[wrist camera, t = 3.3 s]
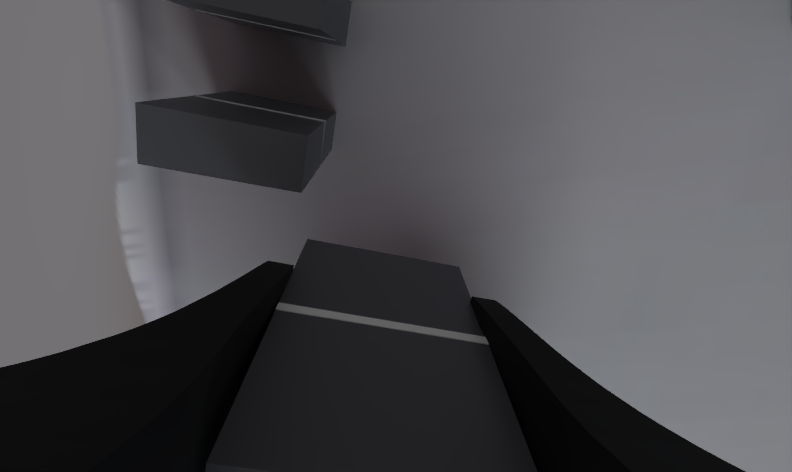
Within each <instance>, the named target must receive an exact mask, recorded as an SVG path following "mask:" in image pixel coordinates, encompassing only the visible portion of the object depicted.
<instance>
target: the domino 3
mask: <svg viewBox="0 0 792 472" xmlns="http://www.w3.org/2000/svg"><path fill="white" fill-rule="evenodd" d="M470 301H471V297H470V295H469V292H468V290H467V287H466V284H465V282H464V279H463V276H462V274H461V271H460V269H459V267H456V266H451V265H445V264H440V263H434V262H429V261H424V260H418V259H413V258H407V257H402V256H397V255H391V254H386V253H380V252H375V251H369V250H364V249H359V248H353V247H348V246H342V245H337V244H332V243H326V242H321V241H315V240H310V239H307V241H306V243H305V246H304V248H303V250H302V252H301V255H300V257H299V259H298V261H297V263H296V266H295V268H294V270H293V272H292V274H291V277H290V279H289V281H288V283H287V285H286V288H285V290H284V292H283V294H282V297H281V299H280V301H279V303H278V305H277V307H276V310H275V312H274V314H273V316H272V319H271V321H270V323H269V325H268V328H267V330H266V332H265V334H264V336H263V339H262V341H261V343H260V345H259V347H258V350H257V352H256V354H255V356H254V358H253V361H252V363H251V365H250V367H249V370H248V372H247V374H246V376H245V378H244V381H243V383H242V385H241V387H240V389H239V392H238V394H237V396H236V398H235V401H234V403H233V405H232V407H231V409H230V412H229V414H228V416H227V418H226V420H225V423H224V425H223V427H222V429H221V431H220V434H219V436H218V438H217V440H216V443H215V445H214V447H213V449H212V451H211V454H210V456H209V458H208V460H207V462H206V472H537V469H536V467H535V464H534V462H533V459H532V456H531V454H530V451H529V449H528V446H527V443H526V441H525V438H524V435H523V433H522V430H521V428H520V425H519V422H518V420H517V417H516V415H515V412H514V409H513V407H512V404H511V402H510V399H509V396H508V394H507V391H506V389H505V386H504V383H503V381H502V378H501V376H500V373H499V370H498V368H497V365H496V362H495V360H494V357H493V355H492V352H491V349H490V347H489V343H488V341H487V339H486V337H485V336H484V334H483V332H482V330H481V329H480V327H479V324H478V322H477V319H476V316H475V314H474V311H473V308H472V306H471V303H470Z"/></svg>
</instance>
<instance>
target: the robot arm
mask: <svg viewBox="0 0 792 472" xmlns="http://www.w3.org/2000/svg"><path fill="white" fill-rule="evenodd" d="M293 267H294V265H289V264H283V263H277V262H272V261H267V262H265V263H263V264H262V265H260V266H258V267H257V268H255V269H253V270H252V271H250V272H248V273H247V274H245V275H243V276H242V277H240V278H238V279H236V280H235V281H233V282H231V283H229V284H228V285H226V286H224V287H222V288H221V289H219V290H217V291H215V292H213V293H211V294H209V295H207V296H205V297H203V298H201V299H199V300H197V301H195V302H193V303H191V304H189V305H187V306H185V307H183V308H181V309H179V310H177V311H175V312H173V313H171V314H168V315H166V316H164V317H161V318H159V319H157V320H154V321H152V322H149V323H147V324H144V325H141V326H139V327H136V328H134V329H131V330H129V331H126V332H123V333H120V334H117V335H114V336H111V337H108V338H105V339H101V340H98V341H95V342H92V343H89V344H85V345H82V346H79V347H76V348H73V349H70V350H66V351H63V352H60V353H56V354H53V355H49V356H45V357H42V358H38V359H34V360H30V361H26V362H22V363H18V364H14V365H10V366H6V367H1V368H0V472H206V462H207V460H208V458H209V456H210V454H211V451H212V449H213V447H214V445H215V443H216V440H217V438H218V436H219V434H220V431H221V429H222V427H223V425H224V423H225V420H226V418H227V416H228V414H229V412H230V409H231V407H232V405H233V403H234V401H235V398H236V396H237V394H238V392H239V389H240V387H241V385H242V383H243V381H244V378H245V376H246V374H247V372H248V370H249V367H250V365H251V363H252V361H253V358H254V356H255V354H256V352H257V350H258V347H259V345H260V343H261V341H262V339H263V336H264V334H265V332H266V330H267V328H268V325H269V323H270V321H271V319H272V316H273V314H274V312H275V310H276V307H277V305H278V303H279V301H280V299H281V297H282V294H283V292H284V290H285V288H286V285H287V283H288V281H289V279H290V277H291V274H292V272H293ZM470 303H471V306H472V308H473V311H474V314H475V316H476V319H477V322H478V324H479V327H480V329H481V330H482V332H483V334H484V336H485V337H486V339H487V341H488V343H489V347H490V349H491V352H492V355H493V357H494V360H495V362H496V365H497V368H498V370H499V373H500V376H501V378H502V381H503V383H504V386H505V389H506V391H507V394H508V396H509V399H510V402H511V404H512V407H513V409H514V412H515V415H516V417H517V420H518V422H519V425H520V428H521V430H522V433H523V435H524V438H525V441H526V443H527V446H528V449H529V451H530V454H531V456H532V459H533V462H534V464H535V467H536V469H537V472H745V471H743V470H741V469H739V468H737V467H735V466H733V465H731V464H729V463H727V462H726V461H724V460H722V459H720V458H718V457H716V456H715V455H713V454H711V453H709V452H707V451H705V450H703V449H702V448H700V447H698V446H696V445H694V444H693V443H691V442H689V441H688V440H686V439H684V438H682V437H681V436H679V435H677V434H675V433H674V432H672V431H670V430H669V429H667V428H665V427H663V426H662V425H660V424H658V423H657V422H655V421H654V420H652V419H650V418H649V417H647V416H646V415H644V414H642V413H641V412H639V411H638V410H636V409H635V408H633V407H632V406H630V405H629V404H627V403H626V402H624V401H623V400H621V399H620V398H618V397H617V396H615V395H614V394H612V393H611V392H609V391H608V390H606V389H605V388H604V387H602V386H601V385H599V384H598V383H597V382H595V381H594V380H593V379H591V378H590V377H589V376H587V375H586V374H585V373H583V372H582V371H581V370H580V369H578V368H577V367H576V366H574V365H573V364H572V363H571V362H569V361H568V360H567V359H566V358H564V357H563V356H562V355H561V354H559V353H558V352H557V351H556V350H555V349H553V348H552V347H551V346H550V345H549V344H547V343H546V342H545V341H544V340H543V339H541V338H540V337H539V336H538V335H537V334H536V333H534V332H533V331H532V330H531V329H530V328H529V327H528V326H526V325H525V324H524V323H523V322H522V321H521V320H519V319H518V318H517V317H516V316H515V315H514V314H512V313H511V312H510V311H509V310H507V309H506V308H505V307H504V306H502V305H501V304H500V303H498V302H497V301H495V300H489V299H483V298H478V297H472V298H471V301H470Z"/></svg>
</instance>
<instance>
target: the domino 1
mask: <svg viewBox="0 0 792 472" xmlns="http://www.w3.org/2000/svg"><path fill="white" fill-rule="evenodd" d="M168 1H171V2H174V3H177V4H180V5H183V6H186V7H189V8H192V9H194V10H196V11H200V12H204V13H207V14H210V15H213V16H216V17H219V18H222V19H225V20H228V21H231V22H234V23H238V24H243V25H248V26H252V27H257V28H262V29H266V30H271V31H276V32H280V33H285V34H290V35H294V36H299V37H304V38H308V39H313V40H318V41H322V42H327V43H332V44H336V45H341V46H345V45H346V38H347V30H348V23H349V16H350V8H351V0H168Z"/></svg>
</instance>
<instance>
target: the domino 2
mask: <svg viewBox="0 0 792 472" xmlns="http://www.w3.org/2000/svg"><path fill="white" fill-rule="evenodd" d="M135 105H136V132H137V159H138V164H142V165H148V166H154V167H159V168H165V169H171V170H176V171H182V172H187V173H193V174H199V175H204V176H210V177H215V178H221V179H227V180H232V181H238V182H244V183H249V184H255V185H260V186H266V187H272V188H277V189H283V190H289V191H294V192H300V193H301V192H302V191H303V190H304V188H305V187H306V185H307V184H308V182H309V181H310V180H311V178H312V177H313V175H314V174H315V172H316V171H317V169H318V168H319V167H320V165H321V164H322V162H323V161H324V159H325V158H326V157H327V155H328V154H329V152H330V151H331V148H332V141H333V133H334V126H335V119H336V112H332V111H327V110H322V109H317V108H312V107H307V106H301V105H296V104H291V103H286V102H281V101H276V100H271V99H266V98H261V97H256V96H251V95H246V94H241V93H236V92H222V93H214V94H205V95H193V96H188V97H179V98H170V99H162V100H153V101H144V102H135Z"/></svg>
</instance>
